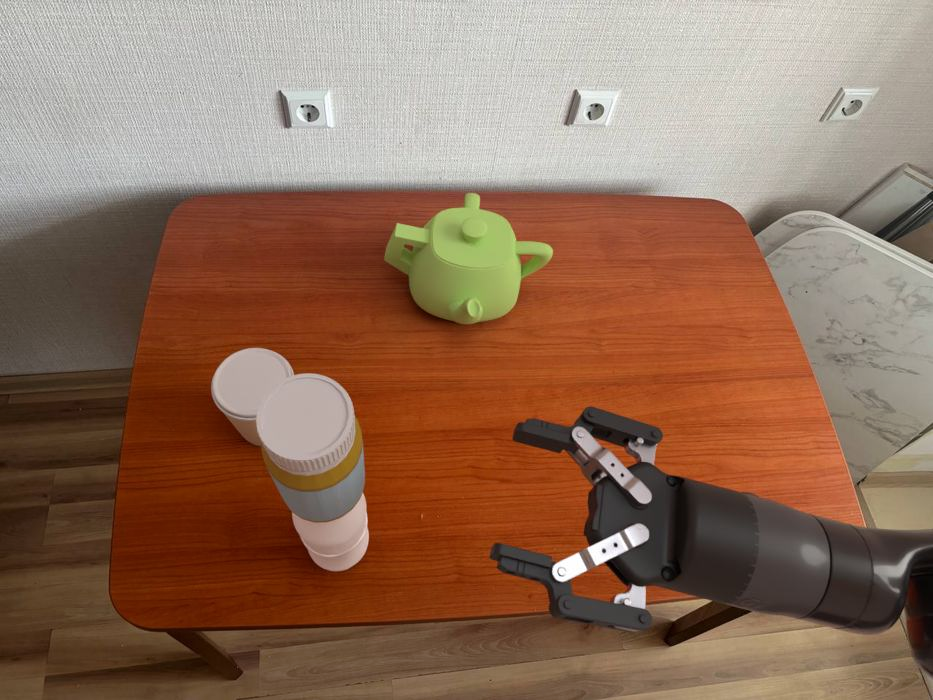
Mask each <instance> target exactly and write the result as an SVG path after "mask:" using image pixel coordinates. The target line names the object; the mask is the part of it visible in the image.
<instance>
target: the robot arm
mask: <svg viewBox="0 0 933 700" xmlns="http://www.w3.org/2000/svg"><path fill="white" fill-rule="evenodd" d="M663 433H664V432H663V431H662V430H661V429H660V428H659V427H657V426H654V425H652V424H648V423H645V422H643V421H639V420H636V419H633V418H629V417H626V416H623V415H620V414H617V413H614V412H610V411H607V410H605V409H602V408H597V407H596V406H593V405H591V406H586V407H585V408H584V409H583V410H582V412H581V414H580V415H579V416H578V418H576V420H575V421H574V424H573V425H571V426H565V425H562V424H557V423H555V422H550V421H546V420H542V419H539V418H535V417H532V418H527V419H526V420H525V421H524V422H523V421H521V422H518V423H517V424H516V425H515V428H514V430H513V433H512V441H513V442H515V443H518V444H523V445H526V446H529V447H533V448H538V449H542V450H545V451H550V452H554V453H556V454H561V453H562V452H563V451H565V452H566V453H567V455H568V456H569V457H570V458H571V459H572V460H573V461H574V462H575V464H576V465H577V466H578V467H579V468H580V472H581V473H582V476H584V478H585V479H586V480H587V481H588V482H589V483H590V484H591V485H592V487H591V489H590V490H589V491H588V495H587V509H588V516H587V518H586V520H585V522H584V527H583V528H584V529H583V536H584V537H585V538H586V541H587V544H588V546H587V547H586V548H583V549H582V550H580V551H578V552H575V553H574V554H572V555H570V556H568V557H566V558H564V559H561V560H559V561H553V556H551V555H548V554H544V553H539V552H535V551H532V550H528V549H525V548H520V547H517V546H512V545H509V544H505V543H500V542H495V543H493V545H492V546H491V547H490V553H489V560H492V561H494V562H497V564H496V569H497V570H499V571H500V572H501V573H503V574H505V575H510V576H513V577H517V578H522V579H525V580H529V581H533V582H536V583H540V584H541V585H542V586H544V587H545V589H546V591H547V596H548V601H549V604H548V612H549V614H550V616H551V617H553V618H554V619H558V620H563V621H566V622H567V621H568V622H573V623H577V624H583V625H589V626H594V627H599V628H605V629H608V630H609V629H610V630H615V631H620V632H624V633H625V632H627V633H635V632H642V631H646V630H649V629H650V628H651V627H652V625H653V621H654V620H653V616H652V614H651V612H650V611H649V610H648V609H646V608H647V607H646V605H647V603H646V602H647V601H646V600H647V587H658V588H662V589H665V590H669V591H673V592H676V593H681V594H685V595H689V596H692V597H696V598H700V599H704V600H708V601H712V602H716V603H719V604H723V605H726V606H731V607H735V608H738V609H742V610H746V611H750V612H754V613H757V614H764V615H770V616H780V617H787V618H792V619H796V620H800V621H804V622H808V623H811V624H815V625H818V626H823V627H827V628H830V629H834V630H838V631H842V632H845V633H850V634H854V635H855V634H856V635H862V636H875V635H880V634H883V633H886V632H887V631H889V630H891V629H892V628H893V627H894V625H895V624H896V623H897V622H898V621H899V619H900V618H901V616H902V613H903V612H904V621H905V629H906V636H907V644H908V649H909V652H910V655H911V658H912V660H913V662H914V663H915V665H916V666H917V667H918V668H919V669H920V671H921V672H922V673H924V674H925V675H926V676H928V677H929V678H930V679H931V680H933V528H924V529H894V528H893V529H891V528H877V527H867V526H861V525H860V526H859V525H854V524H851V523H847V522H843V521H839V520H834V519H831V518H827V517H823V516H819V515H815V514H812V513H807V512H805V511H802V510H799V509H796V508H794V507H791V506H789V505H787V504H784V503H781V502H778V501H775V500H773V499H770V498H765V497H761V496H759V495H757V494H755V493H753V492H747V491H739V490H736V489H735V490H734V489H731V488H727V487H723V486H720V485H715V484H712V483H707V482H703V481H700V480H696V479H692V478H689V477H685V476H679V475H672V474H668V473H667V472H665V471H663V470H661V469H659V467H657V466H656V465H655V460H656V451H657V446H658V444H659V443H660V442H662V440H663V439H664V434H663ZM597 440H600V441H603V442H606V443H609V444H612V445H615V446H619V447H622V448H623V449H624V451H625V453H626V454H627V455H629V456H631V457H633V458H634V459H635V462H636V463H634V464H631V465H628V466H627V467H626V466H625V465H624V463H622V461H621V460H620V459H619V458H618V457H617V456H616V455H615V454H614V453H613V452H612V451H611V450H610V449H609V448H607V447H604V446H602V445H601V444H600V443H599V442H598V441H597ZM602 564H605V566H606V567H607V568H608V569H609V570H610V571H611V572H612V574H614V576H616V578H617V579H618V580H619V581H620V582H621V583H622V584H623V585H624V586H626V590H625V591H624V592H620V593H617V594H614V595H613V596H612V597H610V599H609V601H608V600H607V601H606V600H601V599H595V598H592V597H591V598H590V597H585V596H580V595H575V594H574V593H573V592H574V591H573V588H572V583H571V580H572V579H573V578H576V577H578V576H580V575H582V574H584V573H586V572H588V571H590V570H592V569H595V568H596V567H598V566H600V565H602Z"/></svg>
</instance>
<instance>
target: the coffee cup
mask: <svg viewBox="0 0 933 700" xmlns="http://www.w3.org/2000/svg"><path fill="white" fill-rule="evenodd" d="M294 375H295V372H294V370H293V368H292V366H291V364H290V362H289V361H288V360H287V359H286V358H285V357H284V356H283V355H281V354H280V353H278V352H276V351H273V350H270V349H267V348H262V347H249V348H245V349H241V350H238V351H236V352H234V353H231V354H230V355H229V356H228V357H226V358H225V359H224V360H223V361H222V362H221V363H220V364H219V365H218V367H217V368H216V371H215V372H214V374H213V375H212V376H213V377H212V380H211V385H210V386H211V387H210V390H211V392H210V393H211V397H212V400H213V402H214V404H215V405H216V407H217V408H218V409H219V410H220V412H222V413H223V415H225V416H226V418H227V419H228V420H229V422H230V423H231V424H232V425H233V427H234V428H235V430H237V431H238V433H239V435H241V437H243V438H244V440H246V441H247V442H249V443H250V444H251V445H254V446H256V447H257V446H258V447H261V445H262V442H261V440H260V438H259V435H258V433H257V428H256V425H257V424H256V416H257V411H258V407H259V405H260V402H261V401H262V399H263V397H264V396H265V394H266V393H267V392H268V391H269V390H270V389H271V388H272V387H273V386H274V385H275V384H277V383H278V382H280V381H282V380H283V379H285V378H288V377H290V376H294Z"/></svg>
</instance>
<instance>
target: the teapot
mask: <svg viewBox="0 0 933 700" xmlns="http://www.w3.org/2000/svg"><path fill="white" fill-rule="evenodd" d="M480 204H481V196H480V195H479V194H478V193H475V192H467V193H465V195H464V200H463V205H462V207H452V208H447V209H443V210H441V211H439V212H438V213H436V214H435V215H434V216H433V217H432V218H431V219H429V221H427V223H426V224H424V226H423V227H418V226H413V225H409V224H403V223H399V222H396V224H395V226H394V229H393V231H392V233H391V235H390V238H389V240H388V242H387V245H386V247H385V253H384V259H383V261H384V262H386V263H387V264H389V265H391V266H393V267H394V268H396V269H398V270H399V271H400V272H402V273H404V274H406V275H407V276H408V285H409V291H410V294H411V297H412V299H413V300H414V302H415V303H416V305H417V306H418V307H420V308H421V309H422V310H423V311H425V312H426V313H428V314H430V315H432V316H434V317H438V318H440V319H443V320H447V321H452V322H455V323H456V324H459V325H466V326H467V325H474V324H476V323H482V322H489V321H493V320H496V319H500V318H502V317H503V316H506V315H507V314H509V312H511V310H513V308H514V306H515V305H516V303H517V301H518V298H519V294H520V289H521V280H523V279H524V278H527V277H529V276H530V275H532V274H533V273H536V272H538V271H539V270H540V269H542V268H543V267H545V266H546V265H547V264H548V263H549V262H550V261H551V259H552V257H553V255H554V250H553V248H552V245H549V244H548V243H545V242H542V241H541V242H540V241H531V240H522V241H521V240H517V237H516V235H515V231H514V230H513V227H512V226H511V223H510V222H509V221H508V220H507V218H505V217H503V216H502V215H500V214H498V213H496V212H493V211H489V210H485V209H481V208H480ZM405 245H408V246H411V247H413V248H412V250H410V249H408V248H406V247H405ZM521 255H527V256H528V255H529V256H533V257H532V258H531V259H530V260H527V262H525V263H523V264H522V261H521Z"/></svg>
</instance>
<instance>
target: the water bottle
mask: <svg viewBox="0 0 933 700" xmlns="http://www.w3.org/2000/svg"><path fill="white" fill-rule="evenodd" d="M291 516H292V517H291V519H292V522H293V527H294V528H295V530H296V532H297V533H298V535H299V538H300V540H301V542H302V543H303V545H304V546H305V548H306V549H307V551H308V554H309V556H310V558H311V560H312V561H313V562H314V563H315V565H317V566H319V567H320V568H322V569H323V570H325V571H326V570H327V571H330V572H342V571H346V570H349V569H350V568H352V567H354V566H355V565H356V564H358V563H359V562H360V561H361V560H362V559H363V557H364V556H365V554H366V552H367V549H368V546H369V541H370V540H369V539H370V534H369V527H368V523H369V521H368V519H369V517H368V513H367V501H366V497H365V495H364V492H363V493H362V496H361V498H360V500H359V501H358V503H357V504H356V505H355V507H354V508H353V509H352V510H351V511H350V512H348V513H347V514H346V515H344V516H343V517H341V518H339V519H336V520H333V521H330V522H321V523H315V522H310V521H307V520H304V519H302V518H300V517H298V516H297V515H296V514H294V513H293V512H292V511H291Z"/></svg>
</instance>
